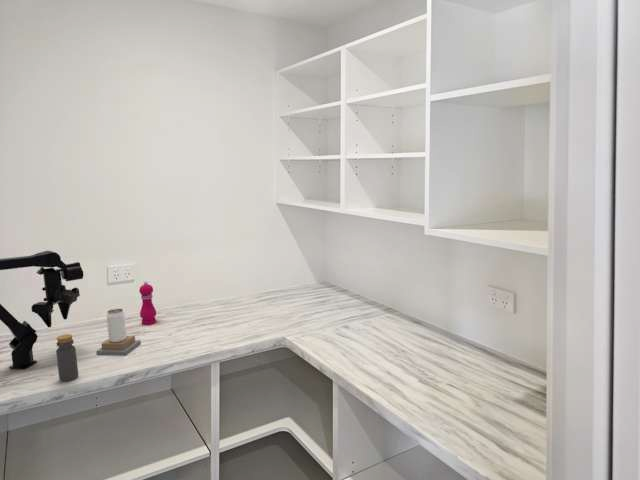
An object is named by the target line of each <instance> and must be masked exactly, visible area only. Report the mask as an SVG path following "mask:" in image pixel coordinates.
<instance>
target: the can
mask: <svg viewBox="0 0 640 480" xmlns="http://www.w3.org/2000/svg"><path fill="white" fill-rule="evenodd" d="M125 317H126V316H125V312H124V310H123V308H114V309H109V310H108V311H107V314H106V323H107V324H106V325H107V334H108V339H109V341H110V342H113V343H116V342H121V341H124V340H125V339H126V336H127V328H126V319H125Z"/></svg>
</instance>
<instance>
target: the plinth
mask: <svg viewBox="0 0 640 480" xmlns="http://www.w3.org/2000/svg"><path fill="white" fill-rule="evenodd" d="M140 345H141V340H140V339H139V340H138V339H136V336H135V335H126V339H125V340H124V341H121V342H116V343H113V342H110V341H109V338H107V339H106V340H104V341H103V342H101V347H100V348H99V349H97V350H95V351H96V353H95V354H96V355H98V356H127V355H128V354H129V353H131V352H132V351H134V350H135V349H136V348H137V347H139V346H140Z"/></svg>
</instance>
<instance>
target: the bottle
mask: <svg viewBox="0 0 640 480" xmlns="http://www.w3.org/2000/svg"><path fill="white" fill-rule="evenodd" d="M56 340H57V342H56V347H58V348H56V351H55V352H56V353H55V354H56V361H57V372H58V378H59V381H60V380H61V381H60V382H69V380H70V381H73V380H76V379H77V378H79V368H78V360H77V351H76V346H75V345H73V344H74V342H75V341H74V339H73V334H71V333H70V334H68V333H67V334H60V335H58V336H57V337H56ZM75 378H76V379H75Z"/></svg>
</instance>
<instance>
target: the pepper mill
mask: <svg viewBox="0 0 640 480" xmlns="http://www.w3.org/2000/svg"><path fill="white" fill-rule="evenodd" d="M138 290H139V294H140V299H141V301H142V303H141V308H140V311H139V317H140V318H141V324H142V325H143V326H148V325H154V324H156V322H157V319H156V316H157V310H156V308H155V306H154V304H153V292H154V287H153V286H152V285H151V284H149V283H148V281H146V280H145V281H143V284H142V285H141V286H140V287H139V289H138Z"/></svg>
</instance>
